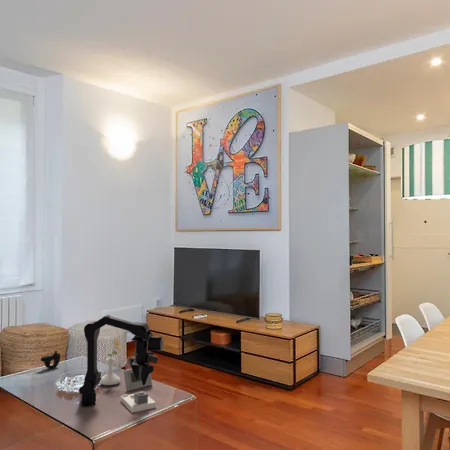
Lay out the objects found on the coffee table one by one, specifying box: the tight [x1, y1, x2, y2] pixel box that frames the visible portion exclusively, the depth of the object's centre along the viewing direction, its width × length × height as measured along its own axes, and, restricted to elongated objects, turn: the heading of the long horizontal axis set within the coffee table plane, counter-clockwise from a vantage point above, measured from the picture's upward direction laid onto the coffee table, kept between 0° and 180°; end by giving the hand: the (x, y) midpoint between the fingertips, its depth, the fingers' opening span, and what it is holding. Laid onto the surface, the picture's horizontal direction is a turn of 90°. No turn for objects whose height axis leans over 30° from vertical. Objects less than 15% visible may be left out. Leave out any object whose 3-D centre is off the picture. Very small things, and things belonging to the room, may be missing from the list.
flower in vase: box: [100, 337, 123, 386], centre depth 236 cm, size 13×11×25 cm
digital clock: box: [123, 367, 153, 392], centre depth 231 cm, size 16×9×11 cm, turn 122°
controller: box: [40, 350, 62, 370], centre depth 260 cm, size 4×12×10 cm, turn 145°
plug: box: [133, 390, 149, 405], centre depth 203 cm, size 5×5×7 cm
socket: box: [120, 393, 157, 413], centre depth 206 cm, size 12×16×3 cm
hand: (140, 382), depth 204 cm, fingers open, 9 cm apart
